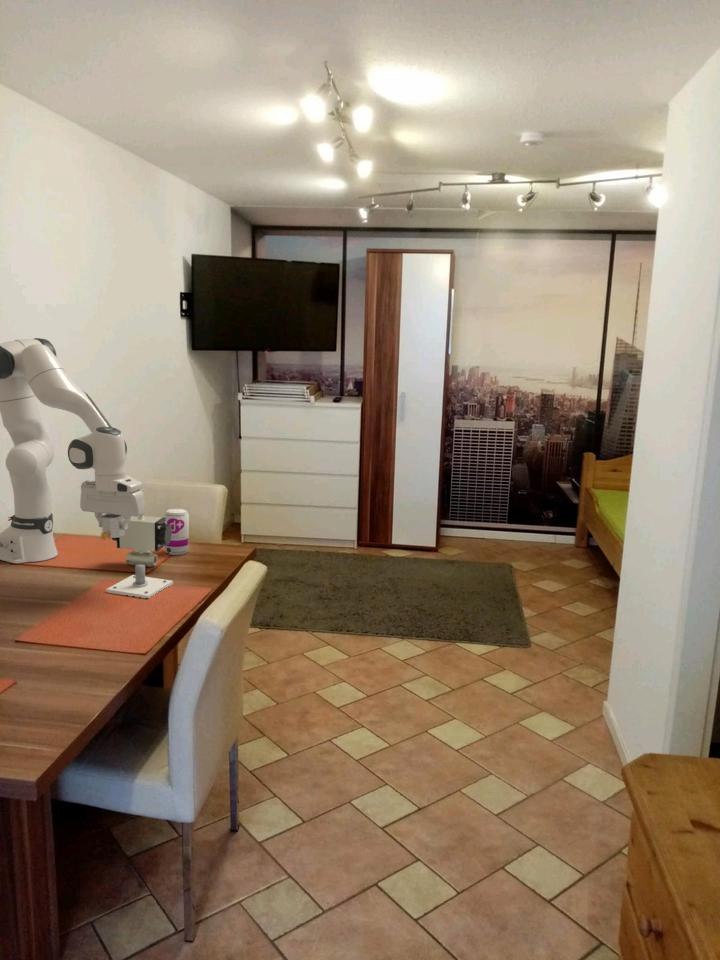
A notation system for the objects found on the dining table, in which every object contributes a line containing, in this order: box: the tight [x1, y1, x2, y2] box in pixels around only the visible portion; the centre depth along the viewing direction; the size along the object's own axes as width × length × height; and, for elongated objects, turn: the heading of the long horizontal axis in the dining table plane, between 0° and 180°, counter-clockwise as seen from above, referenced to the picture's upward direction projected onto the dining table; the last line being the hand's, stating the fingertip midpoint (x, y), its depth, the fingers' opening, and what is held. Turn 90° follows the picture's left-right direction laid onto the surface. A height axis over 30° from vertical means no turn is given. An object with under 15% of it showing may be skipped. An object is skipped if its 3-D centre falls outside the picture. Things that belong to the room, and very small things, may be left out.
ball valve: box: [111, 513, 172, 568], centre depth 239 cm, size 18×8×18 cm, turn 84°
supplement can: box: [164, 508, 190, 556], centre depth 254 cm, size 8×8×15 cm
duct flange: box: [105, 564, 174, 599], centre depth 219 cm, size 14×14×7 cm
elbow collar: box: [100, 513, 125, 541], centre depth 216 cm, size 8×6×6 cm
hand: (113, 528), depth 217 cm, fingers closed on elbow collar, 6 cm apart
